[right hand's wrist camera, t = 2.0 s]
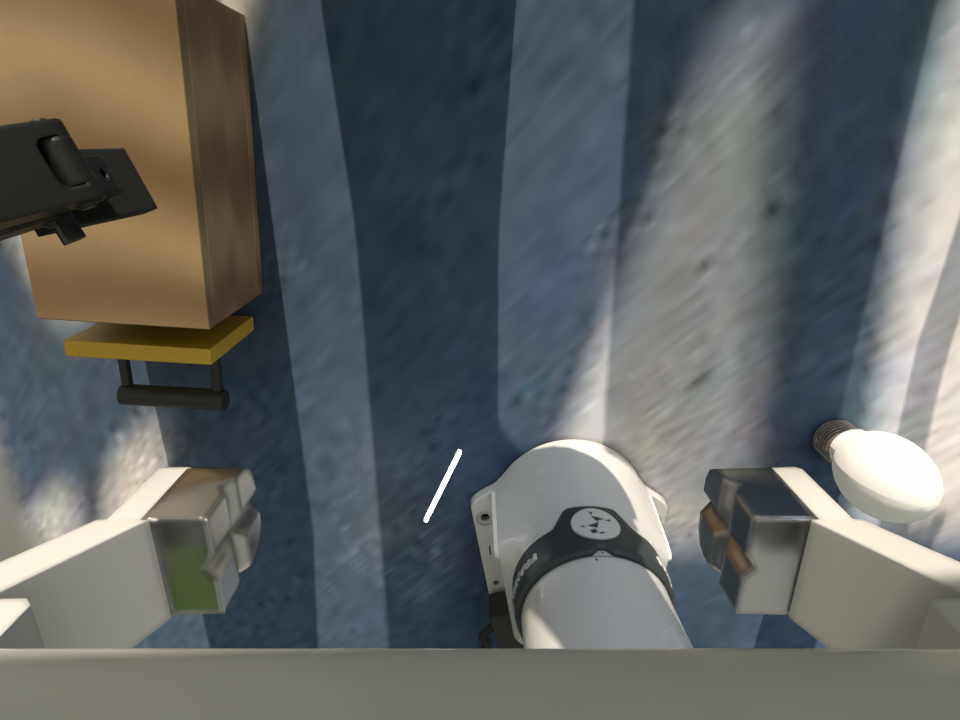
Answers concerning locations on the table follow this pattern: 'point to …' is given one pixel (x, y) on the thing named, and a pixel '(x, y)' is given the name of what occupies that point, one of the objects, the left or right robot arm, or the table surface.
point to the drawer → (164, 358)
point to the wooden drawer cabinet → (143, 154)
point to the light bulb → (880, 472)
